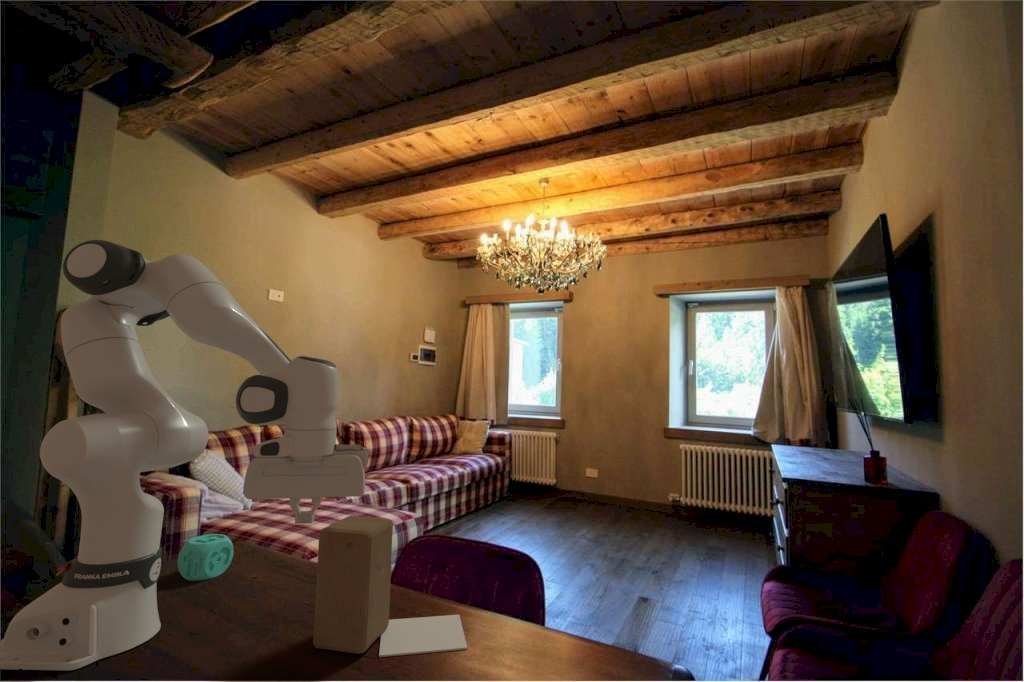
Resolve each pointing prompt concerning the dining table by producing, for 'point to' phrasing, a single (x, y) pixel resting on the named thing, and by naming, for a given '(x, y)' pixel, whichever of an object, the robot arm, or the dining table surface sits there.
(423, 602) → the dining table surface
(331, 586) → the wooden block
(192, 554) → the decorative dice
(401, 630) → the mat
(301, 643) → the dining table surface
